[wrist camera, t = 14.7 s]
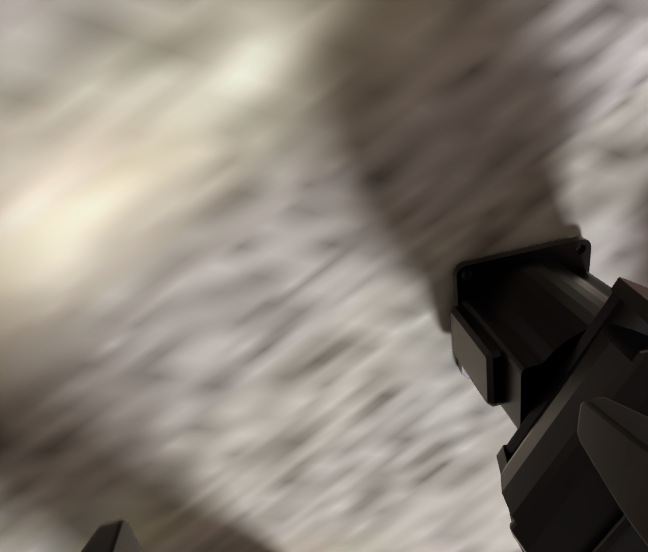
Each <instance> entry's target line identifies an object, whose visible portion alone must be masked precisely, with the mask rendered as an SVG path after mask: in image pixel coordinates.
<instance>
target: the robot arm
mask: <svg viewBox="0 0 648 552" xmlns="http://www.w3.org/2000/svg"><path fill="white" fill-rule="evenodd" d="M579 245H581V246H580V248H579V249H578V250H577V251H576V248H577V247H578V246H579ZM590 255H591V243H590V242H589V241H588V240H586V239H585V238H583V237H581V236H576V237H572V238H567V239H563V240H559V241H554V242H550V243H545V244H541V245H536V246H532V247H528V248H523V249H519V250H514V251H510V252H505V253H501V254H497V255H492V256H488V257H483V258H479V259H474V260H470V261H466V262H462V263H460V264H458V265H457V266H456V267H455V269H454V272H453V279H454V295H455V306H454V307H453V308H452V310H451V312H450V316H451V331H452V347H453V353H454V355H455V356H456V358H457V359H458V362H459V370H460V372H461V374H462V375H463V376H464V377H465V378H468V379H469V378H470V379H471V380H472V382H473V383H474V385H475V386H476V388H477V389H478V391H479V392H480V394H481V395H482V397H483V398H484V400H485V401H486V403H488V404H489V405H491V406H492V407H493V406H497V405H501V406H502V407H503V409H504V410H505V412H506V413H507V415H508V416H509V417H510V419H511V420H512V422H513V423H514V424H515V426H516V427H517V429H518V430H517V431H516V432H515V434H514V435H513V437H512V438H511V440H510V441H509V443H508V444H507V445H503V446H502V448H501V449H500V451H499V452H498V454H497V460H498V464H499V469H500V473H501V487H502V494H503V496H504V499H505V501H506V504H507V506H508V508H509V512H510V517H511V521H512V522H511V523H510V529H511V532H512V535H513V537H514V538H515V539H516V541H517V542H518V544H519V545H520V547H521V549H522V551H523V552H648V288H647V287H644V286H642V285H639V284H637V283H634V282H631V281H629V280H626V279H624V278H621V277H619V278H618V279H617V281H616V282H615V284H614V285H613V287H612V288H611V287H609V286H608V285H606V284H605V283H604V282H602V281H601V280H599V279H598V278H596V277H595V276H593V275H592V274H590V273H589V267H590ZM466 270H469V272H468V274H467V275H466V276H464V277H462V274H463V272H464V271H466ZM81 552H141V548H140V545H139V543H138V541H137V539H136V537H135V535H134V533H133V531H132V529H131V527H130V525H129V523H128V522H127V520H125V519H117V520H113V521H109V522H105V523H103V524H101V525H100V526H99V527H98V529H97V530H96V531H95V533H94V534H93V536H92V537H91V538H90V540H89V541H88V543H87V544H86V546H85V547H84V548H83V550H82V551H81Z"/></svg>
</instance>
